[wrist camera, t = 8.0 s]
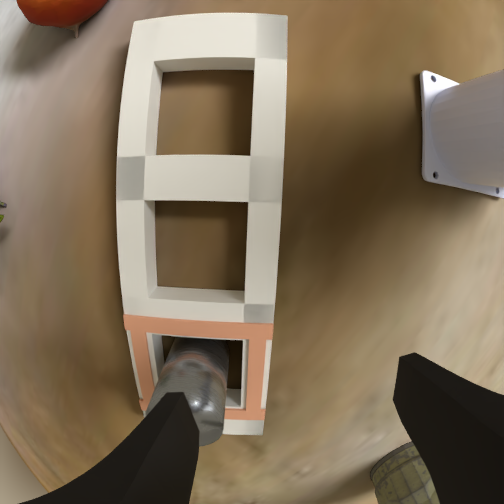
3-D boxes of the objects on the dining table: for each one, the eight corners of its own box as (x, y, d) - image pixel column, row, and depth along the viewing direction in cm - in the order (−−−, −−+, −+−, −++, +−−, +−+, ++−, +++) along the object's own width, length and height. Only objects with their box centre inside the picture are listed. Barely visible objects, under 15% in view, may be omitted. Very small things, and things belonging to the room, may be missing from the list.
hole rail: (283, 30, 14) (287, 14, 12) (261, 417, 21) (262, 436, 19) (144, 34, 14) (133, 20, 12) (152, 409, 21) (146, 427, 19)
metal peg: (222, 322, 19) (211, 393, 12) (235, 370, 20) (231, 444, 13) (165, 330, 19) (133, 397, 12) (182, 376, 20) (162, 446, 13)
